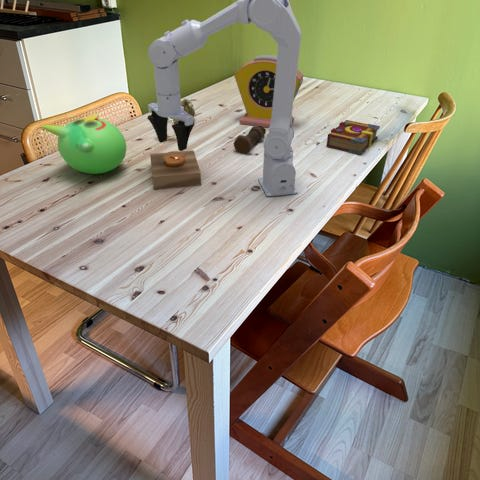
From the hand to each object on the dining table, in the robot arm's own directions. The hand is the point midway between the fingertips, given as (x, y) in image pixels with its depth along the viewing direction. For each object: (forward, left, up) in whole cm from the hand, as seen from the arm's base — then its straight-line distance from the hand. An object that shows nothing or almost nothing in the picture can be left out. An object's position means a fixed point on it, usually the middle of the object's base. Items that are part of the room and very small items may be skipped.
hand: (172, 145), depth 114 cm
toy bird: (+7, +21, -9) cm, 24 cm away
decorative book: (+11, -56, -9) cm, 58 cm away
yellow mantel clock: (+33, -34, -9) cm, 48 cm away
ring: (+25, 0, -9) cm, 26 cm away
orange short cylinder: (0, 0, -8) cm, 8 cm away
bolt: (+16, -25, -9) cm, 31 cm away
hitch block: (0, 0, -8) cm, 8 cm away
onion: (+40, -7, -9) cm, 42 cm away
